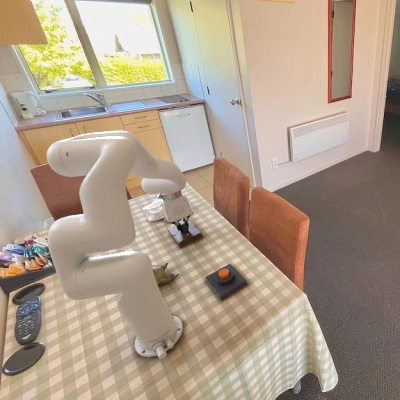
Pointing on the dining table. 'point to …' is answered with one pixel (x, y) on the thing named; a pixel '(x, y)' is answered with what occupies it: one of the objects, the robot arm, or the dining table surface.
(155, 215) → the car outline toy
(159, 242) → the dining table surface
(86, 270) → the robot arm
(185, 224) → the handle
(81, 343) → the dining table surface
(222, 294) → the button block
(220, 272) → the button
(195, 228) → the panel
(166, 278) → the ceramic sculpture
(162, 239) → the dining table surface
